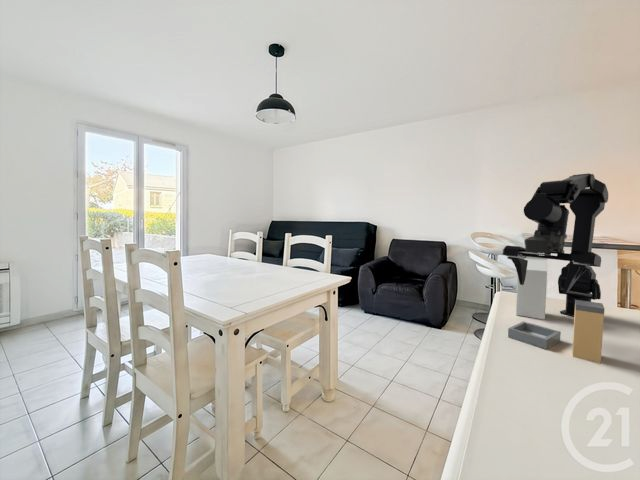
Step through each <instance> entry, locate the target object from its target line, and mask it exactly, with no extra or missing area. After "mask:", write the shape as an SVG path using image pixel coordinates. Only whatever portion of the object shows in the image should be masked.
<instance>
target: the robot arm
mask: <svg viewBox="0 0 640 480" xmlns="http://www.w3.org/2000/svg"><path fill="white" fill-rule="evenodd" d="M608 202H609V190H608V188H607V185H606V183H604V182H602V181H601V180H598V179H596V177H595V175H594V174H593V173H588V172H587V173H579V174H573V175H570V176H569V177H568V178H567V177H566V178H565V179H562V180H560V179H559V180H552V181H542V182H541V183H540V185H539V186H538V187H537V189H536V190H535V192H534V194H533V195H532V197H531V199H530V200H529V201H528V202H527V203H526V204H525V206H524V207H523V215H524V216H525V218H527V219H529V220H531V221H532V222H535V223H536V224H537V228H536V230H535V231H534V233H533V236H532V235H531V236H529V237H527V238H525V240H524V241H525V242H524V247H523V246H520V245H519V246H517V245H516V246H515V245H506V246H504V247H503V249H502V256H506V257H507V259H508V260H510V261H512V263H513V265H514V267H515V270H516V273H517V275H518V278H519V282H520V285H524V281H525V277H526V270H527V264H528V260H524V258H526V257H536V258H545V259H547V260H557V261H567V262H568V263H567V264H566V265H565V266H563V267H562V268H561V271H560V275H558V279H557V285H558V294H559V295H560V294H561V295H566V296H565V309H562V310H560V311H559V313H560V314H564V315H568V316H572V317H574V313H575V300H581V301H588V302H592V300H593V301H596V300H601V299H602V298H601V297H602V291H601V286H600V284H599V281H598V279H596V278H597V273H596V272H595V270H594V269H593V267H595V268H596V267H599V268H601V264H602V256H600V255H599V254H598V253H595V252H593V251H592V250H593V241H594V233H595V225H596V219H597V217H598V216H599V215H600V214H601V213H602V212H603V211H604V210H605V206H606V203H608ZM565 204H569V209H570V210H571V212H572V213H573V215H574V216H575V217H574V225H573V233H572V242H571V250H570V253H569V252H567V253H565V250H564V248H565V243H566V242H565V241H566V240H567V237H568V235H567V227H568V222H569V215H570V211H569V209H568V208H567V207H566V205H565ZM552 254H554V255H552ZM555 254H556V255H555Z"/></svg>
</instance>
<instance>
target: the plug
mask: <svg viewBox="0 0 640 480" xmlns="http://www.w3.org/2000/svg"><path fill="white" fill-rule="evenodd" d="M604 319H605V307H604V305H603V303H602V302H593V301H591V302H588V301H581V300H575V313H574V316H573V333H572V357H573V358H577V359H580V360H585V361H590V362H595V363H598V364H602V350H603V336H604V335H603V334H604V323H605V322H604V321H605V320H604Z"/></svg>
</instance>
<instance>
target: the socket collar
mask: <svg viewBox="0 0 640 480" xmlns="http://www.w3.org/2000/svg"><path fill="white" fill-rule="evenodd" d="M507 330H508V331H507V338H510V339H513V340H516V341H519V342H522V343H525V344H528V345H530V346H533V347H536V348H540V349H544V350H548V349H550V348H551V347H553V346H554V345H556V344H557V343H559V342H561V330H560V331H558V330H556V329H552V328H548V327H545V326H541V325H537V324H534V323H530V322H526V321H521V322H519V323H516V324H514V325H513V326H511V327H508V328H507Z"/></svg>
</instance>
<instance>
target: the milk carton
mask: <svg viewBox="0 0 640 480" xmlns="http://www.w3.org/2000/svg"><path fill="white" fill-rule="evenodd" d="M524 260H528V264H527V270H526V277H525V281H524V285H520V282H519V278H518V274H517V275H516V276H517V279H516V280H517V281H516V302H515V304H516V305H515V315H516V316H519V317H526V318H533V319H540V320H545V319H546V304H547V301H546V300H547V285H548V283H547V282H548V259H545V258H536V257H526V258H524Z"/></svg>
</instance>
